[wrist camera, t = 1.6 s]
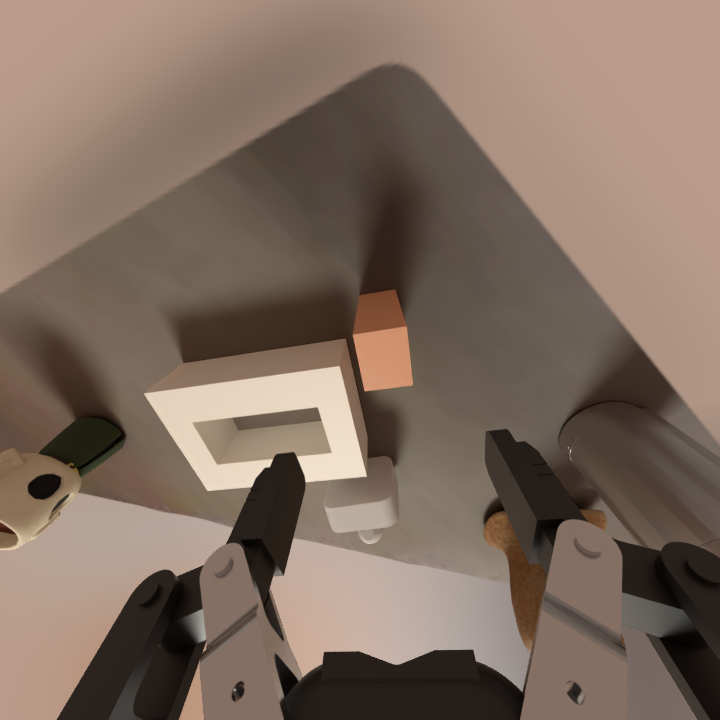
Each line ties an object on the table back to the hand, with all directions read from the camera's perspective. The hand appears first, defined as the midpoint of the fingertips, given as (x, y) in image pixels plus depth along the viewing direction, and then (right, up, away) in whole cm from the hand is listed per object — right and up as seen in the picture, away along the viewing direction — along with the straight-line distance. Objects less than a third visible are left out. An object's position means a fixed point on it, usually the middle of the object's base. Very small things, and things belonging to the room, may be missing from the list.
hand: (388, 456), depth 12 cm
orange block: (+1, +9, +16) cm, 18 cm away
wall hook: (0, -13, +28) cm, 30 cm away
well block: (-11, -1, +22) cm, 24 cm away
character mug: (-36, -5, +25) cm, 44 cm away
